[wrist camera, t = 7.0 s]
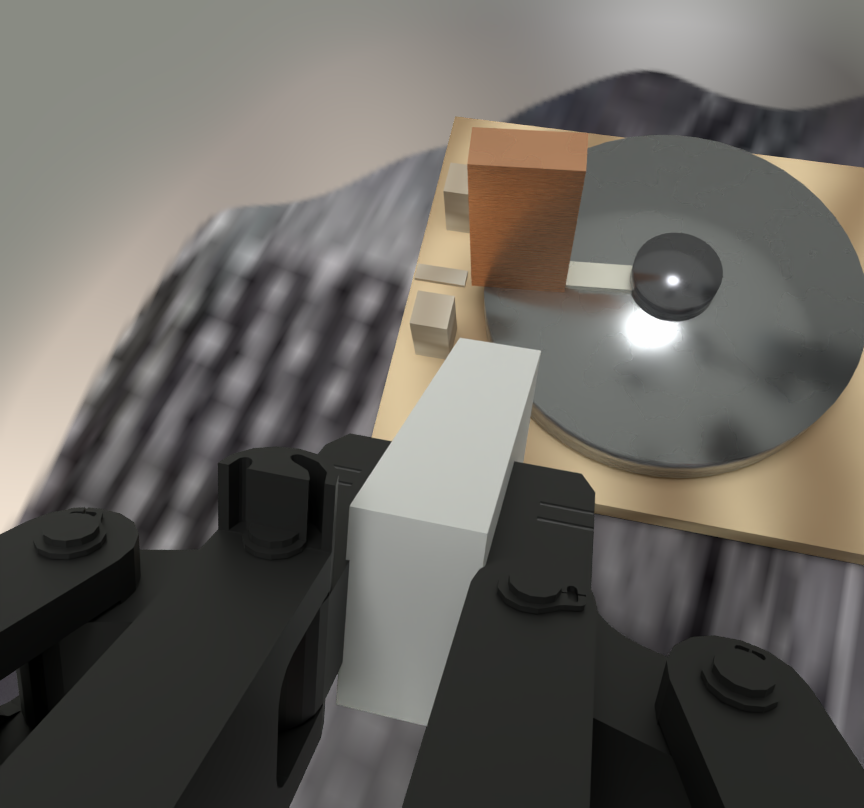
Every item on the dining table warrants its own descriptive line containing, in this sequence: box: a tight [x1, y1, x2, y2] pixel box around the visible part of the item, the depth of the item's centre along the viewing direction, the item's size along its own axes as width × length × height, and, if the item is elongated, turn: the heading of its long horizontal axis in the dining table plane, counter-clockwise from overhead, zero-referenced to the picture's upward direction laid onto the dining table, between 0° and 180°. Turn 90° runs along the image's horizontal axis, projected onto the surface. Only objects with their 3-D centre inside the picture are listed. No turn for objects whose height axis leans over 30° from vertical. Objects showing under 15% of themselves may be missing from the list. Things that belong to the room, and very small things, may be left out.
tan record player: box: [372, 117, 864, 565], centre depth 35 cm, size 25×19×4 cm
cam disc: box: [467, 127, 864, 478], centre depth 31 cm, size 16×16×10 cm
